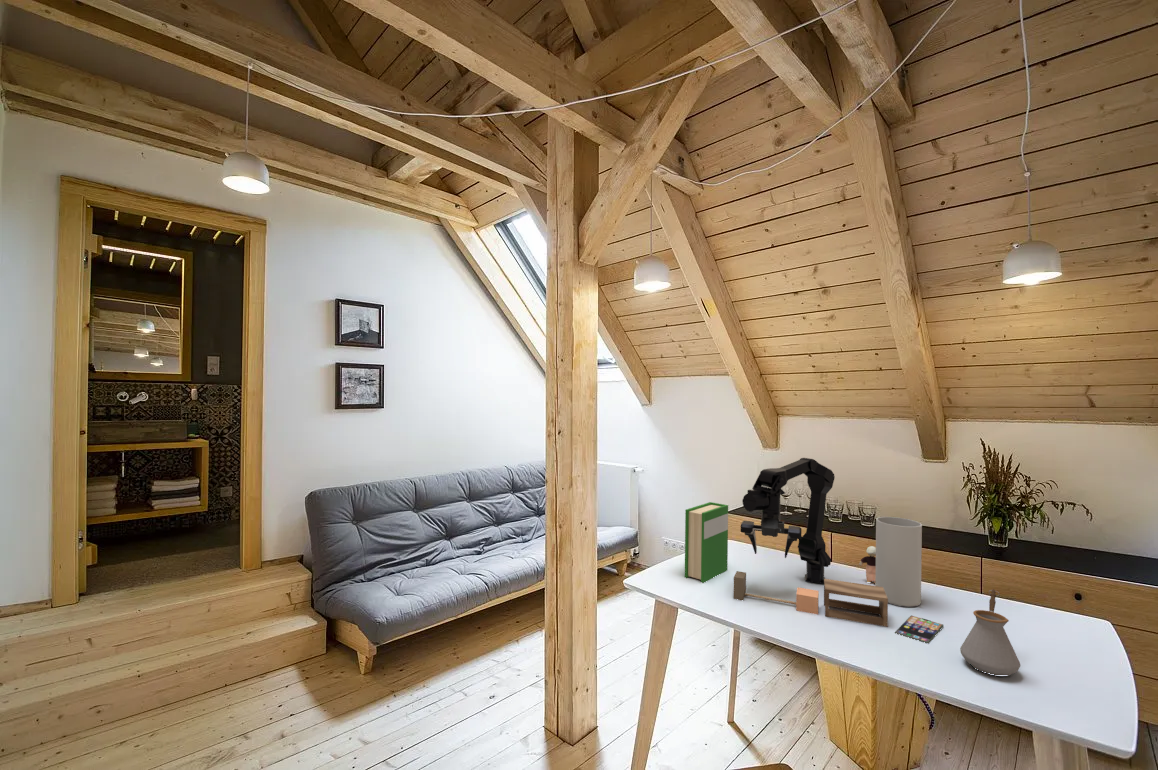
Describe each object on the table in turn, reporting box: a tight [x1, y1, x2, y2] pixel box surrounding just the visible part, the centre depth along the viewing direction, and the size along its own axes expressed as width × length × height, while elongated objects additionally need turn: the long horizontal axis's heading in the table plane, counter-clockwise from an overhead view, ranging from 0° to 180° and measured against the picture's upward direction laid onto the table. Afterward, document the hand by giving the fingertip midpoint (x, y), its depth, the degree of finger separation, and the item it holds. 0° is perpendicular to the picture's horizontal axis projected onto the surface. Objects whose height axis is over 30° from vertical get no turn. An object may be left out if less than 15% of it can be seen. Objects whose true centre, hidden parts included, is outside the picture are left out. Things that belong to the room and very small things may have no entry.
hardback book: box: [684, 501, 729, 584], centre depth 188 cm, size 18×7×24 cm, turn 137°
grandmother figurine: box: [858, 545, 876, 584], centre depth 181 cm, size 8×4×13 cm, turn 65°
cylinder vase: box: [874, 516, 923, 608], centre depth 167 cm, size 12×12×25 cm
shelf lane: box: [823, 578, 889, 628], centre depth 155 cm, size 9×16×8 cm, turn 67°
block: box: [733, 570, 819, 615], centre depth 163 cm, size 6×24×7 cm, turn 64°
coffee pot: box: [959, 588, 1021, 676], centre depth 130 cm, size 21×12×15 cm, turn 138°
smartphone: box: [894, 615, 944, 644], centre depth 146 cm, size 8×15×1 cm, turn 132°
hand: (770, 555), depth 172 cm, fingers open, 9 cm apart
